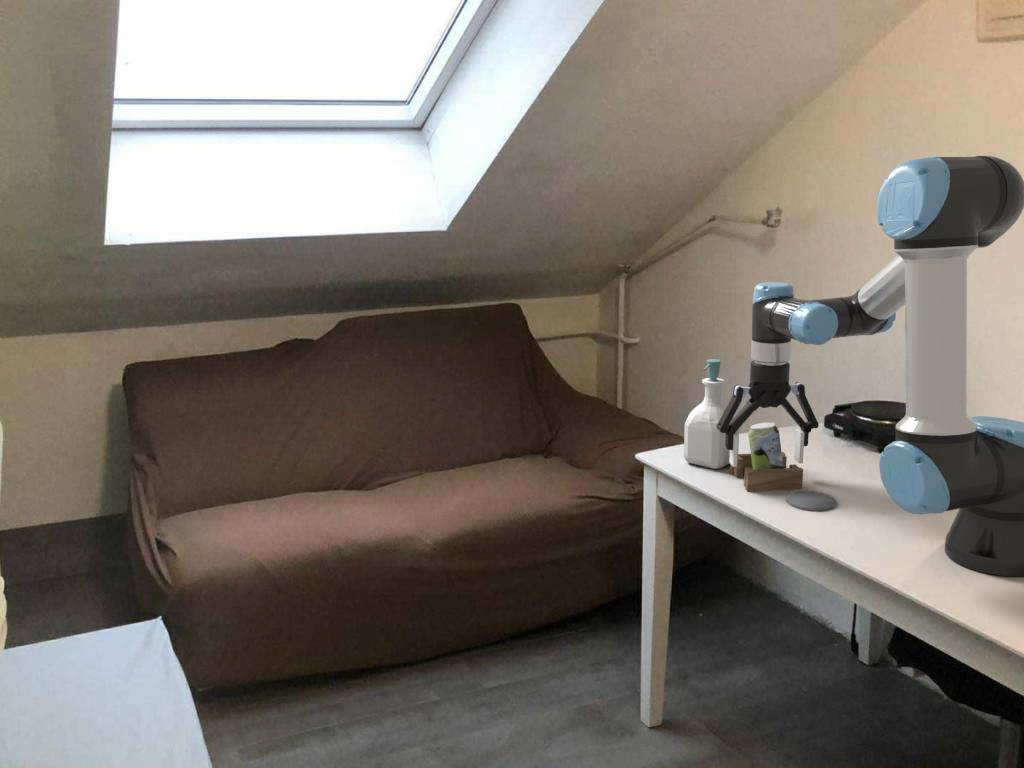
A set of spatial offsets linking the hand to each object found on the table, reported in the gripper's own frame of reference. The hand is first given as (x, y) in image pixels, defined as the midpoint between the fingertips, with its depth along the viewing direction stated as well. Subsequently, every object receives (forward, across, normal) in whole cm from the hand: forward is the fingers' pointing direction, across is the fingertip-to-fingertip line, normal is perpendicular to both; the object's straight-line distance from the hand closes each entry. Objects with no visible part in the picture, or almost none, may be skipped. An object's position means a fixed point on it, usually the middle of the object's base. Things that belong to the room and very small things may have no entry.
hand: (765, 463), depth 195 cm
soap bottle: (+4, +8, -13) cm, 15 cm away
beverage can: (+4, 0, 0) cm, 4 cm away
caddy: (+4, 0, 0) cm, 4 cm away
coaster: (+4, -4, +13) cm, 14 cm away
